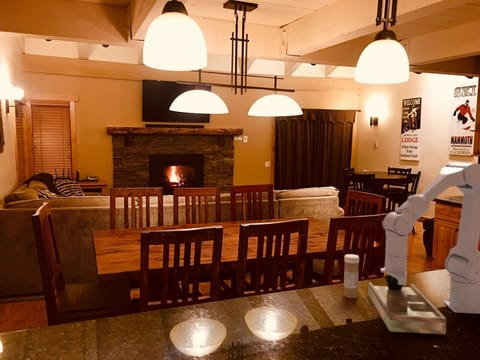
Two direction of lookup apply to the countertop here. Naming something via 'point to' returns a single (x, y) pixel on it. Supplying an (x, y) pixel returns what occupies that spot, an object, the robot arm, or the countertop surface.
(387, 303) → the walnut block
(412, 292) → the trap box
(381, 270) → the robot arm
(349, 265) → the sprinkles bottle
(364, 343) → the countertop surface
